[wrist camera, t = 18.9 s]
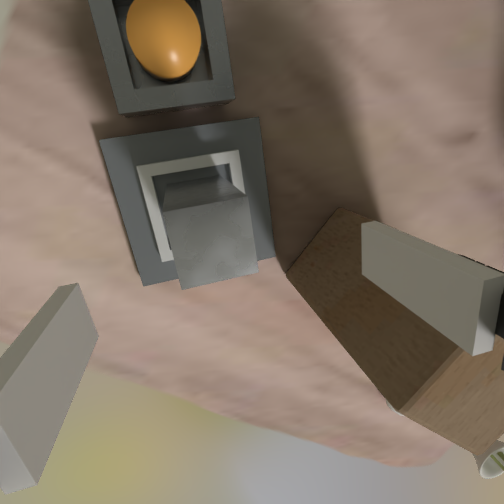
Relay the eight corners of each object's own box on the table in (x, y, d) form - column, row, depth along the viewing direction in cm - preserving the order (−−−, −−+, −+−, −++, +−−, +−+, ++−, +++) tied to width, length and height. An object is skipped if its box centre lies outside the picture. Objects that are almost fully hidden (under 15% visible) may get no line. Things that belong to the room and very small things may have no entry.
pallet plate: (255, 117, 29) (261, 116, 27) (272, 252, 35) (278, 259, 33) (101, 139, 27) (96, 139, 25) (144, 281, 32) (142, 290, 30)
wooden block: (282, 274, 36) (396, 415, 18) (337, 204, 35) (522, 278, 16) (339, 312, 40) (481, 461, 21) (391, 251, 38) (589, 353, 20)
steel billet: (219, 174, 29) (247, 196, 18) (228, 225, 31) (258, 272, 20) (166, 184, 28) (161, 212, 17) (178, 235, 30) (181, 290, 19)
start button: (190, 4, 24) (193, -14, 21) (203, 77, 26) (207, 70, 23) (123, 9, 23) (116, -9, 20) (141, 85, 25) (137, 78, 22)
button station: (208, -18, 25) (214, -45, 21) (227, 103, 28) (235, 98, 25) (92, -10, 24) (77, -38, 20) (126, 117, 27) (118, 114, 23)
